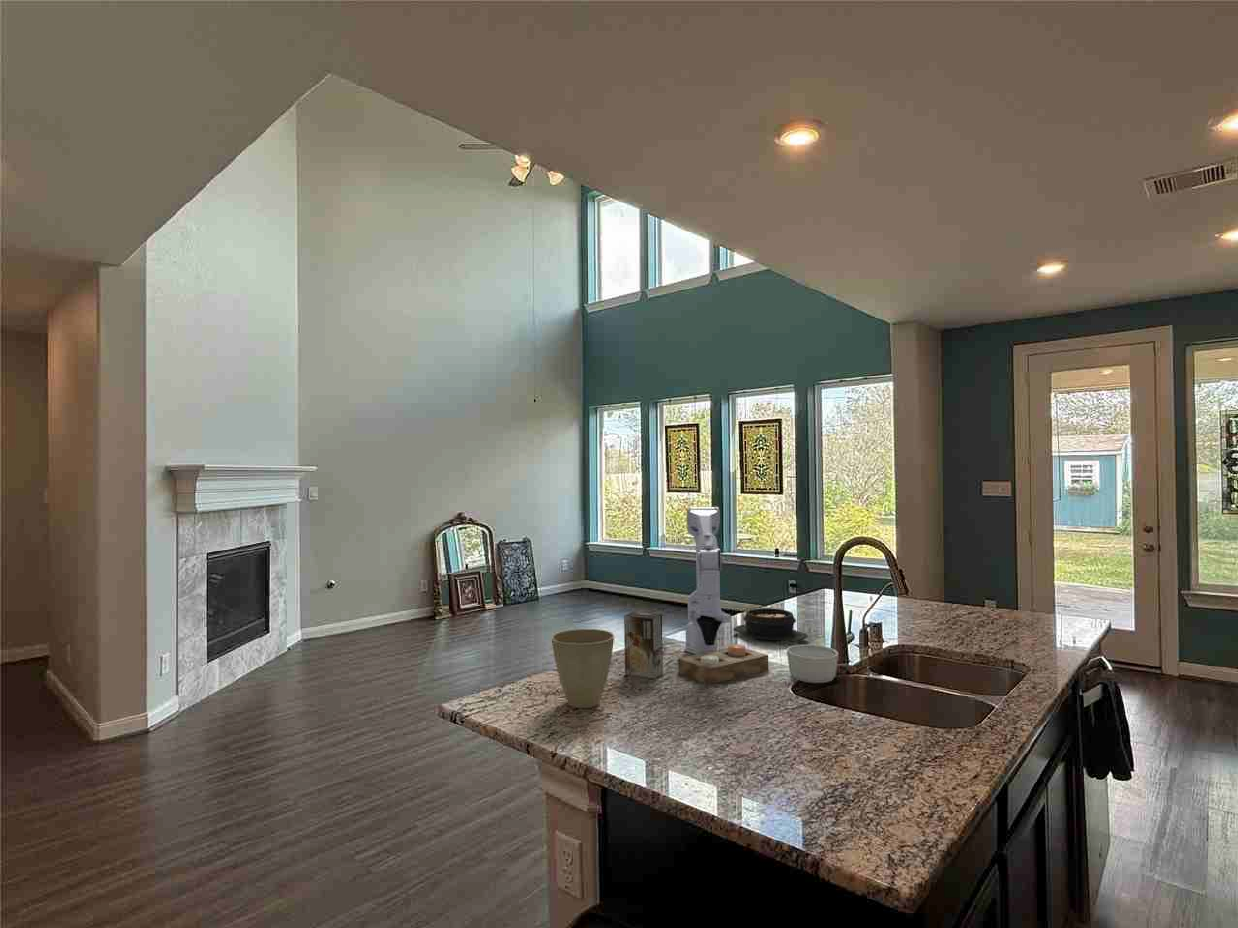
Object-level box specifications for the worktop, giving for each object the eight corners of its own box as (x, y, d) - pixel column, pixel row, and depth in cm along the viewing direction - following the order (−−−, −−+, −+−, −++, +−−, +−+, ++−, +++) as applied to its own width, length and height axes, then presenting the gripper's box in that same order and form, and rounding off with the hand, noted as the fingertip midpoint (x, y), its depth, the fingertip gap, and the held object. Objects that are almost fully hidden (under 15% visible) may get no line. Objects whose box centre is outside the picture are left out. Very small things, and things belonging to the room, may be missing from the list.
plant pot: (621, 695, 160) (621, 630, 160) (604, 717, 146) (603, 645, 146) (564, 690, 164) (564, 626, 164) (542, 711, 150) (541, 641, 150)
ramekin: (841, 686, 165) (841, 659, 165) (788, 683, 168) (787, 656, 168) (835, 670, 178) (835, 645, 178) (785, 668, 181) (785, 643, 181)
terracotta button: (724, 658, 182) (724, 645, 182) (737, 655, 185) (737, 643, 185) (736, 662, 178) (736, 649, 178) (749, 659, 181) (749, 647, 181)
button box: (678, 672, 177) (678, 658, 177) (737, 659, 190) (737, 645, 190) (708, 684, 167) (707, 669, 167) (768, 669, 180) (768, 655, 180)
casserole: (721, 636, 216) (721, 611, 216) (753, 627, 229) (753, 603, 229) (788, 650, 198) (788, 623, 199) (818, 639, 212) (818, 613, 212)
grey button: (697, 670, 176) (697, 657, 176) (710, 667, 179) (710, 654, 179) (709, 674, 172) (709, 661, 172) (722, 671, 175) (722, 658, 175)
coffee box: (664, 672, 178) (663, 613, 178) (654, 679, 172) (653, 618, 172) (634, 668, 182) (633, 610, 182) (623, 674, 176) (623, 615, 177)
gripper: (680, 591, 180) (681, 641, 180) (716, 600, 168) (716, 653, 168) (700, 588, 184) (700, 637, 184) (736, 597, 172) (736, 648, 171)
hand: (709, 644), depth 176 cm, fingers closed
